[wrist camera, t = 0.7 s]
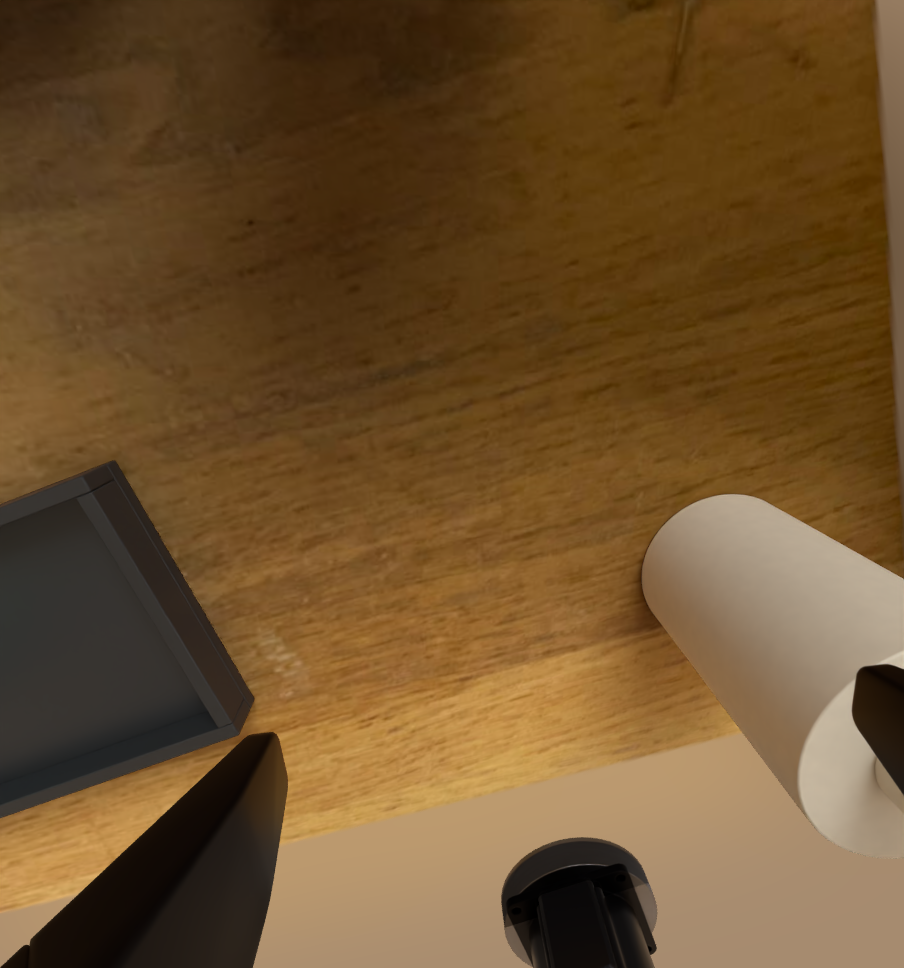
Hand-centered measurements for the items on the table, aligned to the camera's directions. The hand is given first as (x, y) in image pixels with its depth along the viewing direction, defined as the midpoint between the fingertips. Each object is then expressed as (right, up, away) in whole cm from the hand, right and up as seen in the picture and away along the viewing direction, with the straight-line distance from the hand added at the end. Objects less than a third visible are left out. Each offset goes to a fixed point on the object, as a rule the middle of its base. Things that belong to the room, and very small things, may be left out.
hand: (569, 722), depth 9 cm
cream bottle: (+9, 0, +14) cm, 17 cm away
